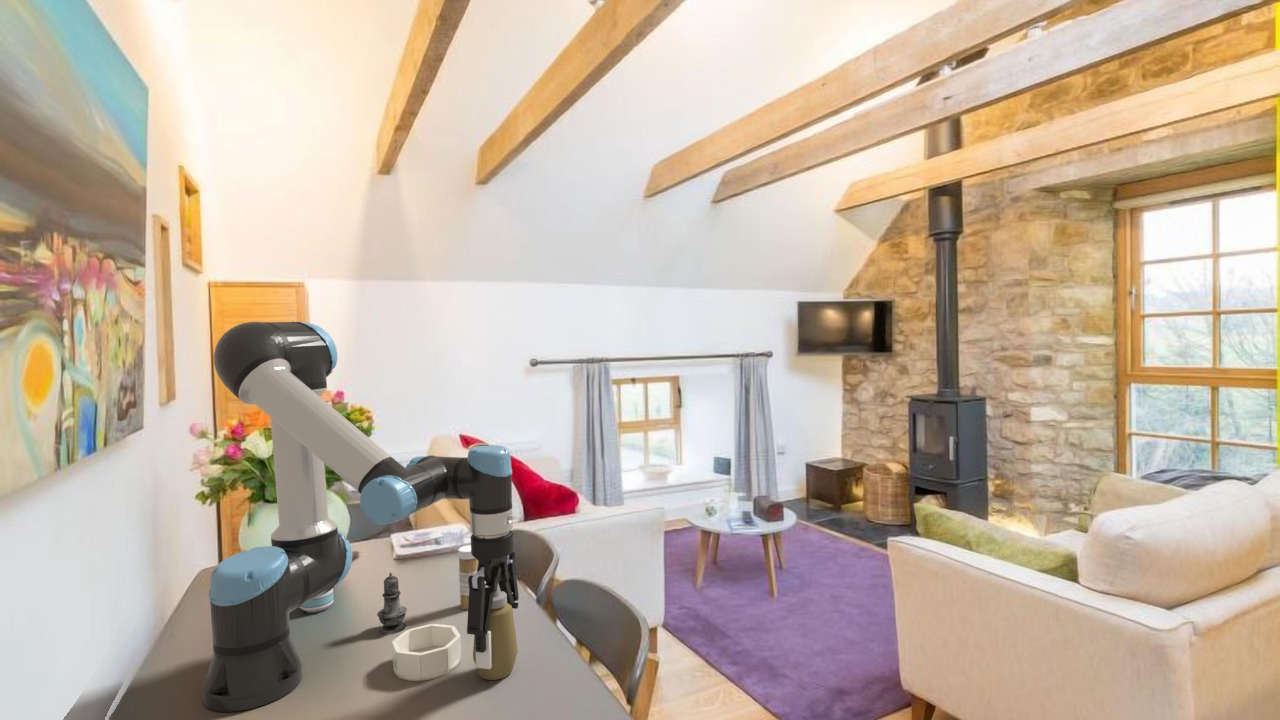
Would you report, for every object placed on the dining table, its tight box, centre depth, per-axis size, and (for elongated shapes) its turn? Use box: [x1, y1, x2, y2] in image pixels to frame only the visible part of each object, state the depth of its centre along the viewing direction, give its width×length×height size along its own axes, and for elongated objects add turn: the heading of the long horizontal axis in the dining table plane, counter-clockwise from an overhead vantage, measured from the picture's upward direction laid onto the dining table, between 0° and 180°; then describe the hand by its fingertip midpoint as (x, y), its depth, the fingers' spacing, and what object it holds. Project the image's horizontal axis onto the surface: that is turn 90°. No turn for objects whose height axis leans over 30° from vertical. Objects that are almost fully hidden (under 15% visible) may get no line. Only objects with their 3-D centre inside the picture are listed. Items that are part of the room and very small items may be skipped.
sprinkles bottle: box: [457, 544, 478, 610], centre depth 147 cm, size 5×5×13 cm
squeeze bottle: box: [472, 583, 519, 681], centre depth 118 cm, size 8×8×18 cm
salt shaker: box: [376, 572, 408, 635], centre depth 136 cm, size 6×6×12 cm
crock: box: [391, 623, 463, 682], centre depth 122 cm, size 12×12×5 cm
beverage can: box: [299, 588, 334, 614], centre depth 147 cm, size 7×7×12 cm
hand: (495, 654), depth 118 cm, fingers closed on squeeze bottle, 8 cm apart
